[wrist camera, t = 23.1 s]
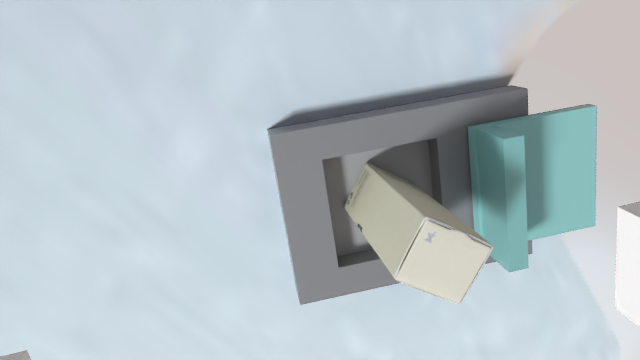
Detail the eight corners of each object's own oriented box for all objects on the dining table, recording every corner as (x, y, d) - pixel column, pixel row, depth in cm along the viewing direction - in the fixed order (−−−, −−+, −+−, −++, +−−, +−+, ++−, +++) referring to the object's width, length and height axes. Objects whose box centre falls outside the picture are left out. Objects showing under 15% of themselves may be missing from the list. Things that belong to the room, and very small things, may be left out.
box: (341, 207, 42) (386, 280, 30) (366, 159, 42) (423, 213, 29) (396, 230, 44) (461, 309, 32) (421, 184, 43) (497, 246, 31)
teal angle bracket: (475, 245, 43) (506, 273, 38) (467, 126, 40) (499, 140, 35) (587, 221, 44) (630, 244, 39) (588, 103, 41) (635, 114, 36)
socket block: (296, 290, 44) (300, 304, 42) (267, 129, 40) (269, 135, 38) (517, 242, 46) (532, 253, 44) (511, 85, 42) (527, 88, 40)
